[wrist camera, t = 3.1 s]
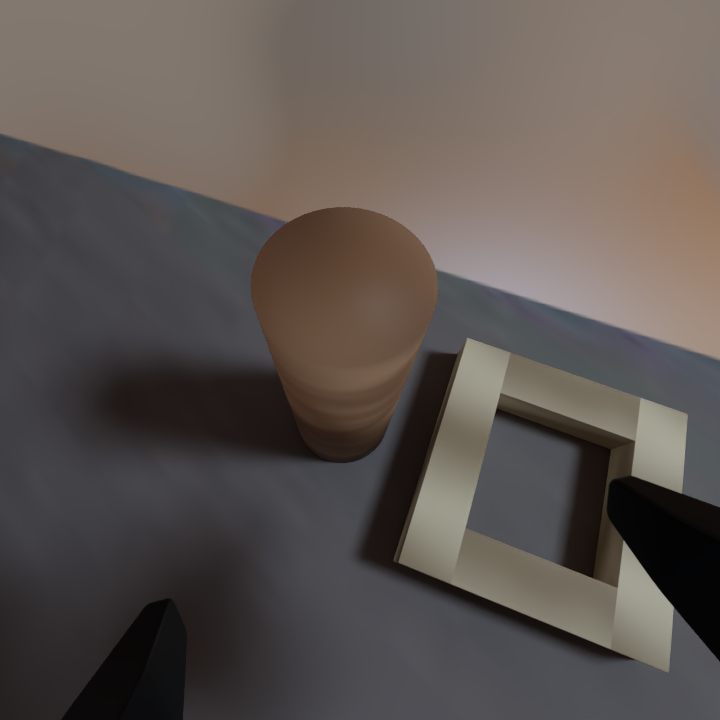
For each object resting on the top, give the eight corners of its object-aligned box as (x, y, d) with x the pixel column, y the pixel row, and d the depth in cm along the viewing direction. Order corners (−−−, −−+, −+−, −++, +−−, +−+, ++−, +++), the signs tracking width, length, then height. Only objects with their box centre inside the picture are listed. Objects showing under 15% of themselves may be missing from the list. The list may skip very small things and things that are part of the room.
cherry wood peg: (339, 482, 21) (339, 407, 9) (278, 414, 22) (212, 274, 11) (406, 419, 22) (476, 286, 11) (345, 358, 24) (349, 180, 12)
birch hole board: (636, 660, 19) (668, 672, 17) (392, 560, 20) (398, 562, 18) (659, 424, 23) (687, 414, 21) (457, 353, 24) (467, 337, 22)
